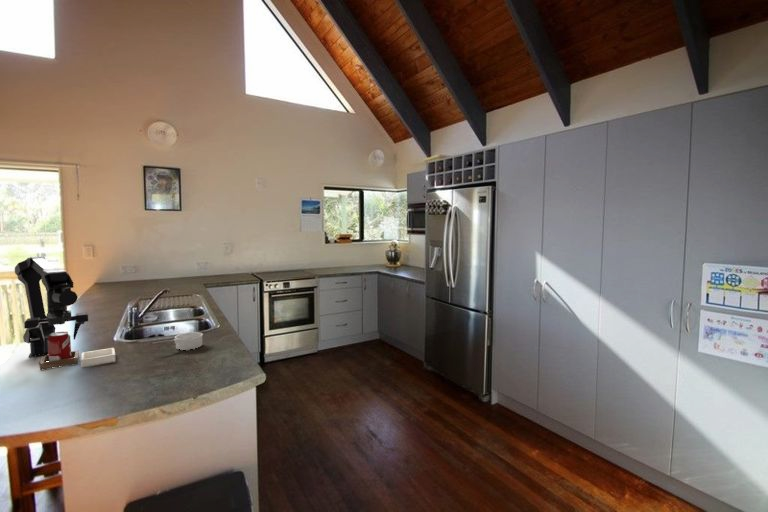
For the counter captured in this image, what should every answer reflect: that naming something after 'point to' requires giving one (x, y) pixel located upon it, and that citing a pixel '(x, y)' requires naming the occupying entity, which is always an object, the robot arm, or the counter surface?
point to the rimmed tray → (97, 357)
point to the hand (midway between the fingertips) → (59, 341)
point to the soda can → (59, 346)
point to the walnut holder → (59, 361)
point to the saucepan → (185, 341)
